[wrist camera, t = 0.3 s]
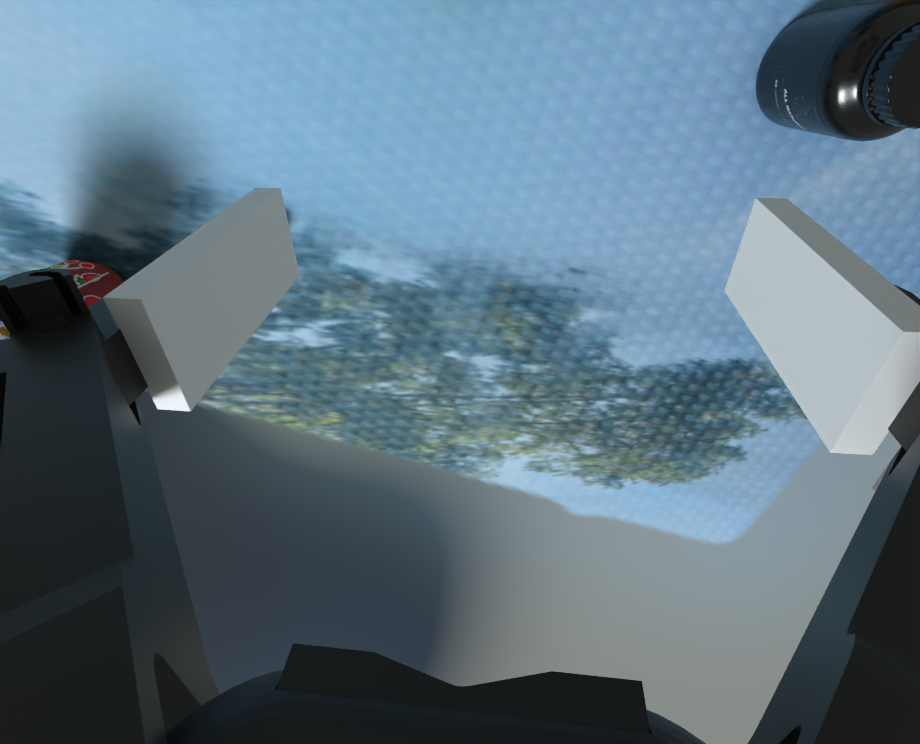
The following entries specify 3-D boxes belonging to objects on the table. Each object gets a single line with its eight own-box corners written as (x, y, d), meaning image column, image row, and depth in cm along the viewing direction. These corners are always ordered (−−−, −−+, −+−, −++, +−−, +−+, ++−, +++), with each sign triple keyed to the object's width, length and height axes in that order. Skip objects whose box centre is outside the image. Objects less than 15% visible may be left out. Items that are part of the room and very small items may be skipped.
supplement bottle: (733, 113, 36) (832, 129, 26) (787, -3, 32) (926, -38, 22) (821, 139, 36) (952, 164, 26) (883, 27, 33) (1063, 7, 23)
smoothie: (67, 225, 42) (-221, 330, 25) (162, 284, 45) (-42, 417, 27) (41, 298, 46) (-226, 433, 29) (131, 349, 48) (-67, 502, 31)
